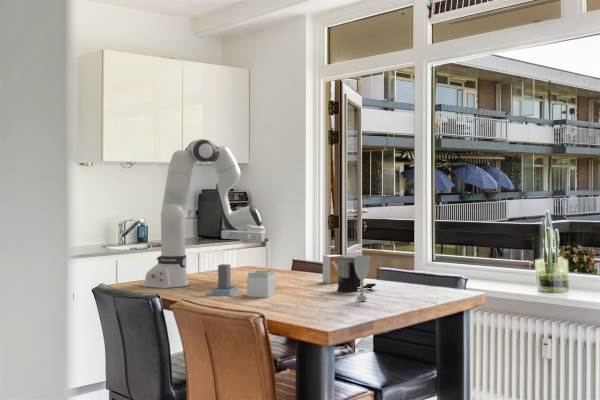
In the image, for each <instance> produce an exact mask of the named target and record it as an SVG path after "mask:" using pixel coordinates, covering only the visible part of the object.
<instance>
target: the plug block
mask: <svg viewBox="0 0 600 400" xmlns="http://www.w3.org/2000/svg"><path fill="white" fill-rule="evenodd" d="M217 272H218V273H217V275H218V276H217V281H218V283H217V285H218V286H217V287H218V289H230V286H231V263H230V264H228V263H225V264H224V263H222V264H218V265H217Z"/></svg>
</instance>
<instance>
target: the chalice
mask: <svg viewBox="0 0 600 400" xmlns="http://www.w3.org/2000/svg"><path fill="white" fill-rule="evenodd" d="M353 257H354V259H355V271H356V274H357V276H358V278H359V279H361V284H360V287H361V288H360V287H359V288H360V289H359V290H360V294H358V295H357V297H356V300H359V301H365V300H368V297H367V295H366V294H365V293H364V290H365V288H363V286H365V283H364V280H365V279H366V278H367V277H368V274H369V270H370V258H371V256H370V255H354V256H353Z"/></svg>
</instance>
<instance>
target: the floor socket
mask: <svg viewBox="0 0 600 400" xmlns="http://www.w3.org/2000/svg"><path fill="white" fill-rule="evenodd" d="M241 293H243V290H238V286H233V285H232V286H231V285H230V289H218V286H216V287H212V288H211V291H210V292H208V293H206V294H205V295H206V296H218V295H219V296H221V297H233V296H236V295H238V294H241Z"/></svg>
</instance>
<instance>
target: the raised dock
mask: <svg viewBox="0 0 600 400" xmlns="http://www.w3.org/2000/svg"><path fill="white" fill-rule="evenodd" d="M274 295H276V275H275V271H274V270H260V269H254V270H252V271H250V272H248V276H247V277H246V297H248V298H249V297H250V298H252V297H253V298H270V297H272V296H274Z"/></svg>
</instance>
